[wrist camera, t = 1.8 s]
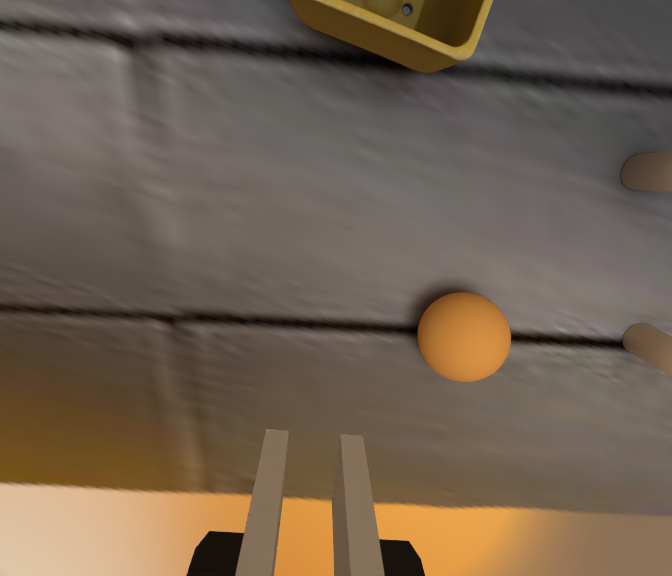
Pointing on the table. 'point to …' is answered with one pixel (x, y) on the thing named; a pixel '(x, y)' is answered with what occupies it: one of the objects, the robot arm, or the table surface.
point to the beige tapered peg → (648, 172)
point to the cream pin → (650, 346)
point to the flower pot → (402, 28)
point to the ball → (464, 337)
